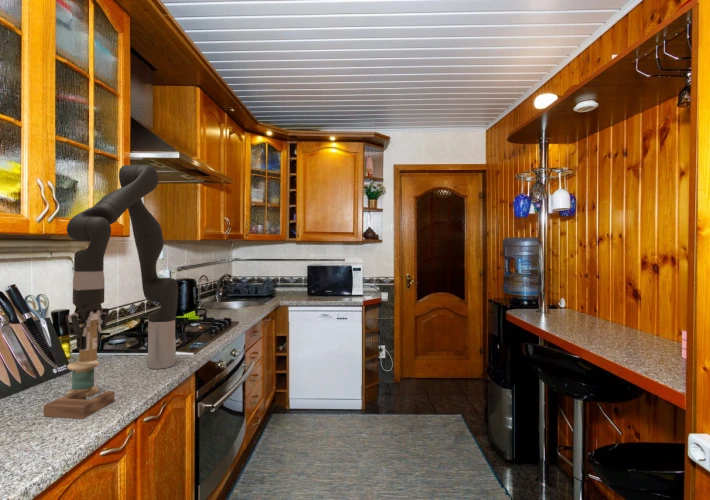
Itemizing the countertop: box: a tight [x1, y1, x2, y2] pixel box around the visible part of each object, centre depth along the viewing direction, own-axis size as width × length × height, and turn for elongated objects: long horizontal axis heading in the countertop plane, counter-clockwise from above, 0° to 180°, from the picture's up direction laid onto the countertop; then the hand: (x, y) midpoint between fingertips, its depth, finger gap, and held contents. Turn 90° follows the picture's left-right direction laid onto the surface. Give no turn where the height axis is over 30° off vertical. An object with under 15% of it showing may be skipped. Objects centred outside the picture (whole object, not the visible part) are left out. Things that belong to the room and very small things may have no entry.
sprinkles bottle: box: [78, 313, 98, 362], centre depth 115 cm, size 5×5×14 cm
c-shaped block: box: [43, 389, 115, 420], centre depth 112 cm, size 12×11×3 cm
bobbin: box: [66, 359, 100, 397], centre depth 124 cm, size 8×8×9 cm
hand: (88, 347), depth 115 cm, fingers closed on sprinkles bottle, 4 cm apart
